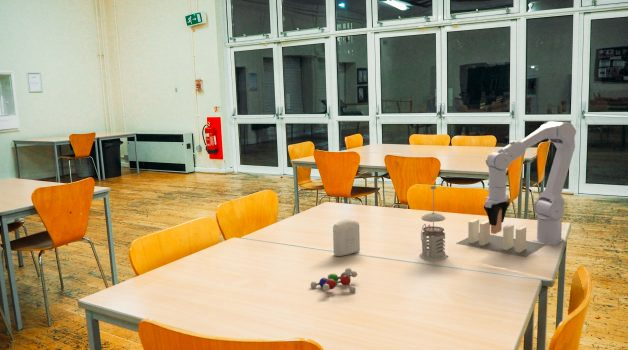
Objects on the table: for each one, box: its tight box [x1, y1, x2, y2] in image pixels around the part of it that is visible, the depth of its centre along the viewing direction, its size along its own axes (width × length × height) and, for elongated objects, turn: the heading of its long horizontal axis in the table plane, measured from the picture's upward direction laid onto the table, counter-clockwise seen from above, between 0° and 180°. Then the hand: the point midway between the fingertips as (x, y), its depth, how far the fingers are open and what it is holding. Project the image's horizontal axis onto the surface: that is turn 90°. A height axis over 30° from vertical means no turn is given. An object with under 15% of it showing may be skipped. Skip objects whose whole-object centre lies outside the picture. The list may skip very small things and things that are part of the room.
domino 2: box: [479, 220, 491, 246], centre depth 186 cm, size 5×2×8 cm, turn 135°
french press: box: [419, 185, 449, 262], centre depth 174 cm, size 10×12×25 cm
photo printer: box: [332, 219, 361, 257], centre depth 183 cm, size 10×4×12 cm, turn 123°
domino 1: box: [467, 218, 480, 243], centre depth 189 cm, size 5×2×8 cm, turn 135°
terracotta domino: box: [490, 209, 503, 235], centre depth 182 cm, size 5×2×8 cm, turn 135°
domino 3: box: [502, 223, 515, 250], centre depth 180 cm, size 5×2×8 cm, turn 135°
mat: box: [456, 232, 548, 258], centre depth 186 cm, size 18×26×1 cm
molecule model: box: [310, 267, 358, 293], centre depth 152 cm, size 15×7×14 cm
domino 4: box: [514, 225, 527, 252], centre depth 177 cm, size 5×2×8 cm, turn 135°
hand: (496, 223), depth 183 cm, fingers closed on terracotta domino, 5 cm apart
